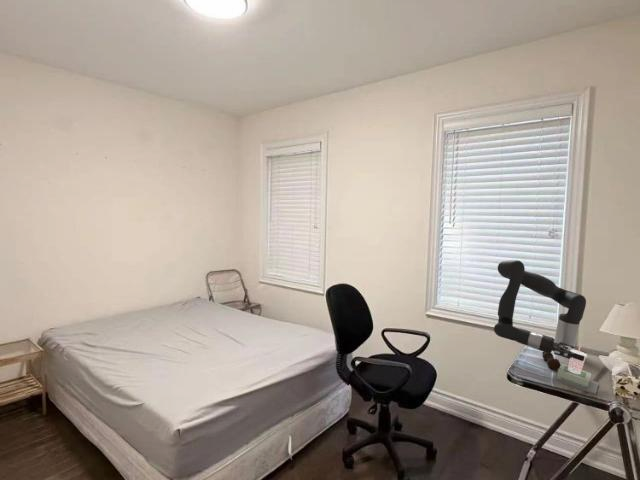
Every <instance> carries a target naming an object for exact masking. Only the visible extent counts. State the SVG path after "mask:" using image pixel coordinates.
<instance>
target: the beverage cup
mask: <svg viewBox="0 0 640 480" xmlns="http://www.w3.org/2000/svg"><path fill="white" fill-rule="evenodd" d="M582 343H583V342H582V341H580V342H579V345H578V349H577V350H573V349H571V350H570V351H571V352H573V353H576V354H579V355H583V356H584V361H581V360H578V359H575V358H570V359H569V361H568V370H569V371H570V372H572V373H575V374H581V370H583V367H584V364H585V360H586V358H587V357H588V354H587V353H586V354H585V353H584V352H585V351H583V352H581V351H582V350H581V347H582Z"/></svg>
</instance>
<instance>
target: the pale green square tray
mask: <svg viewBox="0 0 640 480" xmlns="http://www.w3.org/2000/svg"><path fill="white" fill-rule="evenodd" d="M560 364H561V366H560V368H559V369H558V370H557V373H556V377H555V381H556V382H559V383H562V384H565V385H567V386H569V387H572V388H575V389H577V390H581V391H584V392H586V393H588V394H590V395H591V394H592V395H594V396H596V395H597V392H598V389H599V382H598V381H595V380H592V379H591V378H592V373H591V372H588V371H585V370H583V369H582V370H581V374H575V373H572V372H570V371H569V370H568V365H569V364H568V365H567V364H564V363H560Z"/></svg>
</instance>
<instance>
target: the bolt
mask: <svg viewBox="0 0 640 480" xmlns="http://www.w3.org/2000/svg"><path fill="white" fill-rule="evenodd" d="M541 356H542V358H543V360H544V361H545V362H546V364H547V367H548V368H549V369H550V370H554V371H558V369H559V368H560V366H561V364H562V363H561V362H560V360H559V359H558V358H555V357H554V355H553V353H552V352H551V353H550V354H549V353H546V352H543V351H542V355H541Z"/></svg>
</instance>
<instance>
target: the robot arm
mask: <svg viewBox="0 0 640 480" xmlns="http://www.w3.org/2000/svg"><path fill="white" fill-rule="evenodd" d="M525 269H526V268H525V264H524V263H523V262H522V260H521V261H520V260H517V259H515V260H513V259H512V260H511V259H510V260H509V259H507V260H503V261H501V262H500V263H498V264H497V271H498V273H499V275H500V276H502V277H503V278H505V279H508V281H509V282H508V285H507V287H506V288H505V290H504V292H503V294H502V295H501V297H500V299H499V303H498V308H497V309H498V310H497V316H498V321H497V323H496V324H495V325H494V327H493V331H494V333H495V335H496V336H498V337H501V338H503V339H507V340H511V341H514V342H517V343H518V344H521V345H523V346H527V347H530V348H531V349H534V350H537V351H541V352H542V353H543V352H546V353H549V354H550V353H552V352H553V354H554V355H557V356H560V357H562V358H565V359H570V358H575V359H578V360H581V361H584V356H583V355H579V354H576V353H573V352H571V351H570V350H571V349H573V350H578V349H577V348H576V346H575V345H576V341H577V337H578V336H577V335H578V331H579V327H580V323H581V320H583V317H584V314H585V313H584V312H585V309H586V306H587V299H586V297H585V296H584V295H582V294H580V293H578V292H577V293H576V292H574V291H570V290H566V289H564V288H561V287H559V286H557V285H556V283H555V282H554V281H553V280H551V279H550V278H548V277H546V276H544V275H541V274H538V273H535V272H531V271H526V270H525ZM521 286H524V287H525V288H527V289H529V290H531V291H532V292H534V293H536V294H539V295H541V296H543V297H545V298H549V299H551V300H553V301H554V302H556V303H557V304H559V305H561V307H564V308H566V309H568V310H567V312H566V313H560V314H559V315H558V320H557V325H556V329H555V335H554V337H553V336H552V337H551V336H549V335H545V334H541V333H538V332H535V331H530V330H527V329H524V328H519V327H516V326H513V325H514V314H515V306H516V300H517V296H518V293H519V290H520V287H521ZM580 351H581V352H584V353H585V354H587V352H586V351H583V350H580ZM584 362H585V361H584Z"/></svg>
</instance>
